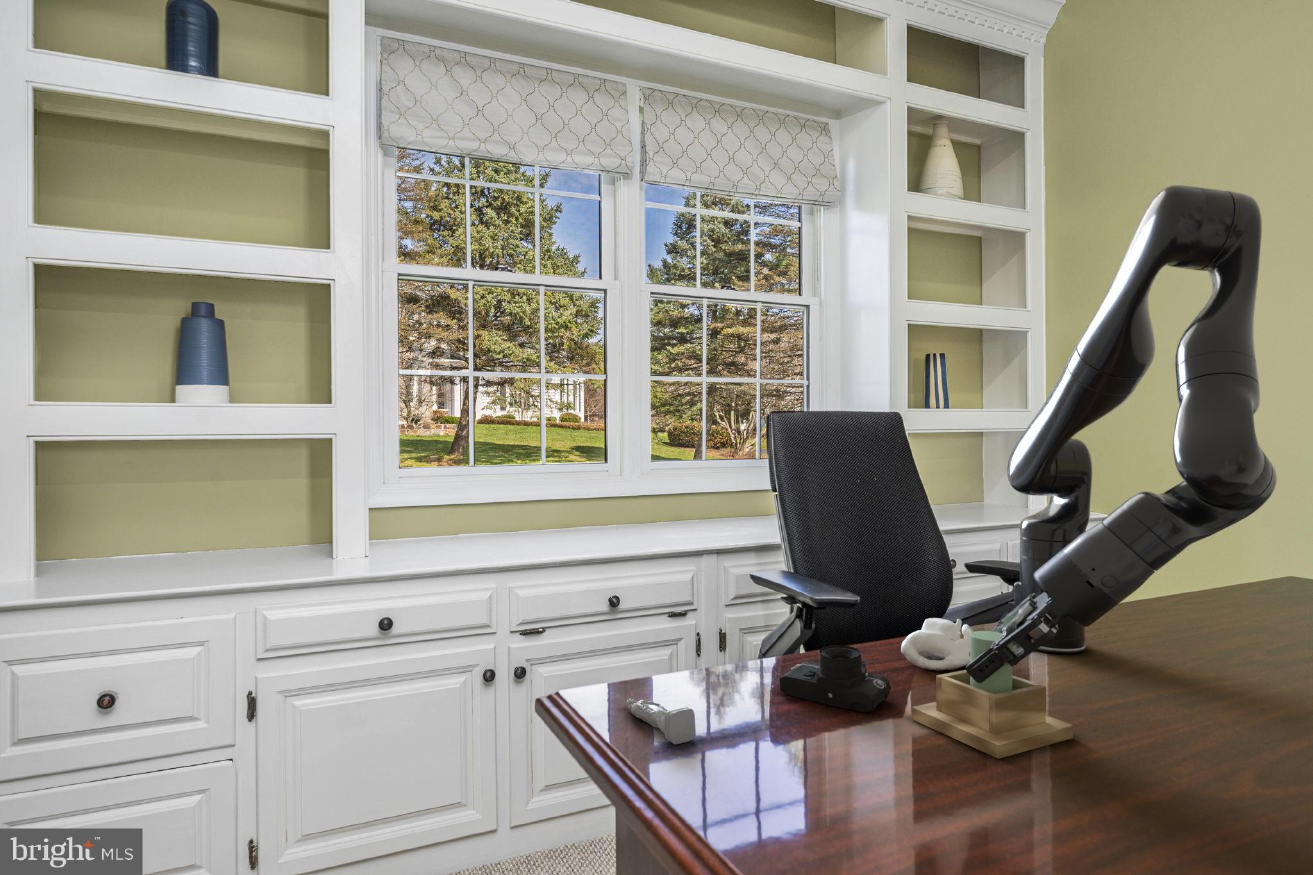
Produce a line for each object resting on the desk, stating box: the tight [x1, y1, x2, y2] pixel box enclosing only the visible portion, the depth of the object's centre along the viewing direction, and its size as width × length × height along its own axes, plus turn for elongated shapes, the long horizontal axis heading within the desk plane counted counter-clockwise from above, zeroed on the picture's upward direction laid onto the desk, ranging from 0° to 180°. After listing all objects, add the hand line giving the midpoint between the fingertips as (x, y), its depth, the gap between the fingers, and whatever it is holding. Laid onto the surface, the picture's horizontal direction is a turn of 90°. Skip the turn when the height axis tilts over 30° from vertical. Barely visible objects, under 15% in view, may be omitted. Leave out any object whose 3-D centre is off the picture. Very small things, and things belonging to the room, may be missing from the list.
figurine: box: [625, 698, 697, 745], centre depth 86 cm, size 4×12×4 cm, turn 32°
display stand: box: [911, 669, 1074, 760], centre depth 85 cm, size 12×12×6 cm
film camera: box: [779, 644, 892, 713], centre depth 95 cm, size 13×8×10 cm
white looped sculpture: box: [900, 617, 974, 672], centre depth 109 cm, size 9×12×8 cm
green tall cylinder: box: [970, 630, 1013, 695], centre depth 85 cm, size 4×4×9 cm
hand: (973, 667), depth 86 cm, fingers open, 5 cm apart
